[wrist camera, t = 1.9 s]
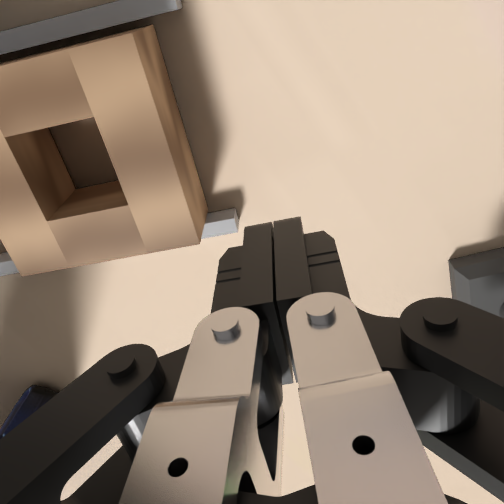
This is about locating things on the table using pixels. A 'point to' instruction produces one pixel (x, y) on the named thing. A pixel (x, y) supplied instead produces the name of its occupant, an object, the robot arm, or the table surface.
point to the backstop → (125, 10)
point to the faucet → (479, 280)
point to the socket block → (119, 149)
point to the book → (26, 406)
